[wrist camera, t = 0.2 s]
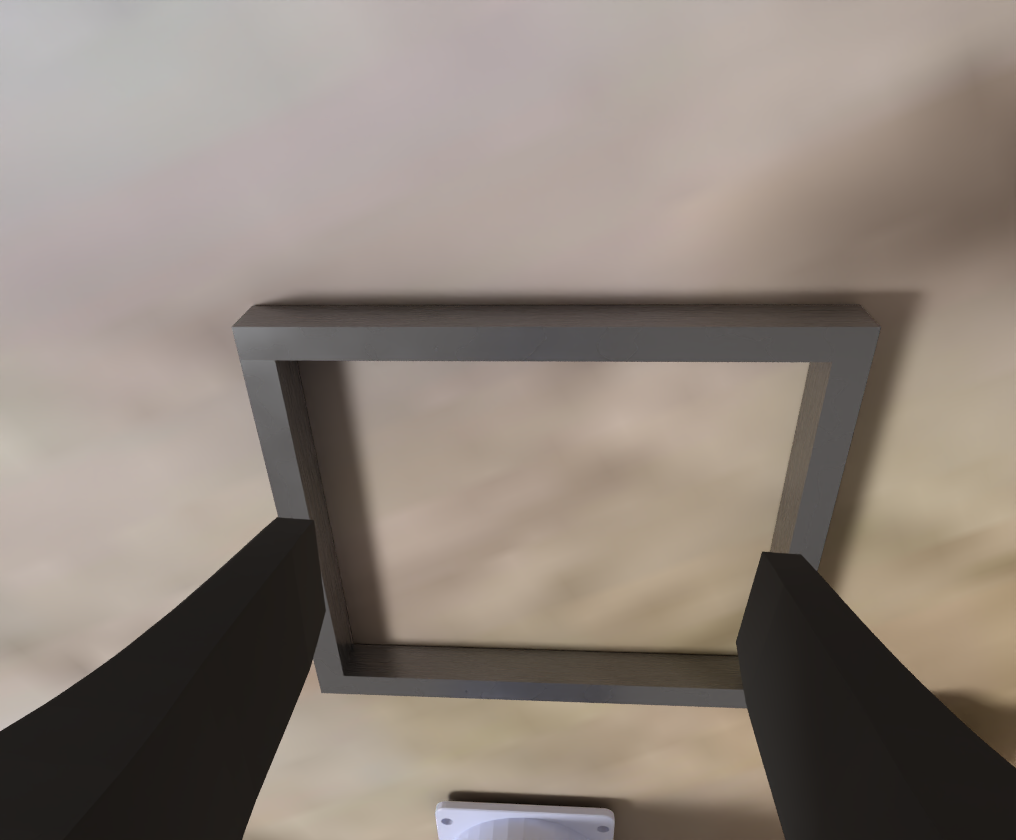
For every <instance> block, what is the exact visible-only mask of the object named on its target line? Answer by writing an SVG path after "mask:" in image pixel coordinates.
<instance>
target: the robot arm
mask: <svg viewBox="0 0 1016 840" xmlns="http://www.w3.org/2000/svg"><path fill="white" fill-rule="evenodd" d="M325 612H326V608H325V600H324V593H323V585H322V577H321V570H320V562H319V555H318V547H317V539H316V532H315V524H314V520H308V519H294V518H280V517H277V518H276V519H275V520H273V521H272V522H271V523H270V524H269V525H268V526H266V527H265V528H264V529H263V530H262V531H261V532H260V533H259V534H258V535H256V536H255V537H254V538H253V539H252V540H251V541H250V542H249V543H248V544H247V545H245V546H244V547H243V548H242V549H241V550H240V551H239V552H238V553H237V554H236V555H235V556H233V557H232V558H231V559H230V560H229V561H228V562H227V563H226V564H225V565H224V566H222V567H221V568H220V569H219V570H218V571H217V572H216V573H215V574H214V575H212V576H211V577H210V578H209V579H208V580H207V581H206V582H204V583H203V584H202V585H201V586H200V587H199V588H198V589H196V590H195V591H194V592H193V593H192V594H191V595H189V596H188V597H187V598H186V599H185V600H184V601H183V602H181V603H180V604H179V605H178V606H177V607H176V608H174V609H173V610H172V611H171V612H170V613H168V614H167V615H166V616H165V617H163V618H162V619H161V620H160V621H158V622H157V623H156V624H155V625H153V626H152V627H151V628H150V629H148V630H147V631H146V632H145V633H143V634H142V635H141V636H140V637H138V638H137V639H136V640H135V641H133V642H132V643H131V644H130V645H128V646H127V647H126V648H125V649H123V650H122V651H121V652H119V653H118V654H117V655H115V656H114V657H113V658H111V659H110V660H108V661H107V662H106V663H104V664H103V665H102V666H100V667H99V668H97V669H96V670H95V671H93V672H92V673H90V674H89V675H87V676H86V677H84V678H83V679H82V680H80V681H79V682H77V683H76V684H74V685H73V686H71V687H70V688H68V689H67V690H65V691H64V692H63V693H61V694H60V695H58V696H57V697H55V698H54V699H52V700H50V701H49V702H47V703H46V704H44V705H43V706H41V707H39V708H38V709H36V710H35V711H33V712H31V713H30V714H28V715H26V716H25V717H23V718H21V719H20V720H18V721H16V722H15V723H13V724H11V725H10V726H8V727H7V728H5V729H3V730H2V731H0V840H242V838H243V835H244V832H245V829H246V826H247V824H248V821H249V818H250V816H251V813H252V810H253V807H254V805H255V802H256V799H257V797H258V795H259V792H260V790H261V787H262V785H263V782H264V780H265V778H266V775H267V773H268V770H269V768H270V766H271V763H272V761H273V758H274V756H275V753H276V751H277V749H278V746H279V744H280V741H281V739H282V737H283V734H284V732H285V729H286V727H287V725H288V722H289V720H290V717H291V715H292V712H293V710H294V707H295V705H296V703H297V700H298V698H299V695H300V693H301V690H302V688H303V685H304V683H305V680H306V678H307V675H308V673H309V670H310V667H311V664H312V660H313V657H314V653H315V650H316V646H317V643H318V639H319V635H320V631H321V628H322V624H323V620H324V616H325ZM736 645H737V652H738V658H739V665H740V672H741V678H742V684H743V690H744V695H745V701H746V705H747V709H748V713H749V716H750V720H751V723H752V727H753V730H754V734H755V737H756V741H757V744H758V748H759V751H760V755H761V758H762V762H763V765H764V768H765V772H766V775H767V779H768V782H769V785H770V789H771V792H772V795H773V799H774V802H775V806H776V809H777V813H778V816H779V819H780V823H781V826H782V830H783V833H784V836H785V840H1016V768H1015V767H1014V766H1012V765H1011V764H1010V763H1009V762H1008V761H1006V760H1005V759H1004V758H1003V757H1002V756H1001V755H999V754H998V753H997V752H996V751H995V750H993V749H992V748H991V747H990V746H989V745H988V744H986V743H985V742H984V741H983V740H982V739H981V738H980V737H978V736H977V735H976V734H975V733H974V732H973V731H972V730H971V729H969V728H968V727H967V726H966V725H965V724H964V723H963V722H962V721H961V720H960V719H958V718H957V717H956V716H955V715H954V714H953V713H952V712H951V711H950V710H949V709H948V708H947V707H946V706H945V705H944V704H943V703H942V702H941V701H940V700H939V699H937V698H936V697H935V696H934V695H933V694H932V693H931V692H930V691H929V690H928V689H927V688H926V687H925V686H924V685H923V684H922V683H921V682H920V681H919V680H918V679H917V678H916V677H915V676H914V675H913V674H912V673H911V672H910V671H909V670H908V669H907V668H906V667H905V666H904V665H903V664H902V663H901V662H900V661H899V660H898V659H897V658H896V657H895V656H894V655H893V654H892V653H891V652H890V651H889V650H888V649H887V648H886V647H885V645H884V644H883V643H882V642H881V641H880V640H879V639H878V638H877V637H876V636H875V635H874V634H873V633H872V632H871V631H870V629H869V628H868V627H867V626H866V625H865V624H864V623H863V622H862V621H861V620H860V619H859V618H858V616H857V615H856V614H855V613H854V612H853V611H852V610H851V609H850V608H849V607H848V605H847V604H846V603H845V602H844V601H843V600H842V599H841V598H840V597H839V595H838V594H837V593H836V592H835V591H834V590H833V589H832V588H831V587H830V585H829V584H828V583H827V582H826V581H825V580H824V579H823V578H822V576H821V575H820V574H819V573H818V572H817V571H816V570H815V569H814V568H813V567H812V565H811V564H810V563H809V562H808V561H807V560H806V559H805V558H804V557H803V556H802V555H801V554H789V553H775V552H762V554H761V558H760V561H759V565H758V568H757V571H756V575H755V578H754V582H753V585H752V589H751V592H750V596H749V599H748V602H747V606H746V609H745V613H744V616H743V620H742V623H741V627H740V630H739V633H738V637H737V640H736ZM435 815H436V822H437V830H438V837H439V840H613V838H614V826H615V817H614V813H613V812H612V811H611V810H609V809H606V808H590V807H568V806H547V805H525V804H503V803H482V802H460V801H442V802H439V803H438V804H437V806H436V812H435Z"/></svg>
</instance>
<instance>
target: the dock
mask: <svg viewBox="0 0 1016 840" xmlns="http://www.w3.org/2000/svg"><path fill="white" fill-rule="evenodd" d="M880 329H881V326H880V325H879V324H878V323H877V322H876V321H875V320H874V319H873V318H872V317H871V316H870V315H869V314H868V313H867V312H866V311H865V309H864V308H863V307H862V306H861V305H480V306H252V307H251V308H250V309H249V310H248V311H247V312H246V313H245V314H244V315H243V316H242V317H241V318H240V319H239V320H238V321H237V322H236V323H235V324H234V325H233V326H232V330H233V334H234V338H235V342H236V347H237V351H238V355H239V359H240V363H241V367H242V371H243V375H244V379H245V383H246V387H247V391H248V395H249V399H250V404H251V408H252V412H253V416H254V420H255V424H256V428H257V432H258V436H259V440H260V444H261V448H262V452H263V456H264V460H265V465H266V469H267V473H268V477H269V481H270V485H271V489H272V493H273V497H274V501H275V505H276V509H277V513H278V517H280V518H294V519H308V520H314V524H315V532H316V539H317V547H318V555H319V562H320V570H321V577H322V585H323V593H324V600H325V608H326V612H325V616H324V620H323V624H322V628H321V631H320V635H319V639H318V643H317V646H316V650H315V653H314V657H313V660H314V664H315V668H316V672H317V676H318V680H319V684H320V688H321V692H322V693H338V694H366V695H394V696H421V697H449V698H477V699H504V700H532V701H560V702H587V703H615V704H643V705H670V706H698V707H726V708H747V705H746V701H745V695H744V690H743V684H742V678H741V672H740V665H739V658H738V656H712V655H680V654H648V653H616V652H584V651H552V650H520V649H488V648H456V647H424V646H392V645H360V644H354V643H353V638H352V633H351V628H350V623H349V618H348V613H347V608H346V603H345V598H344V593H343V588H342V583H341V578H340V573H339V568H338V563H337V558H336V553H335V548H334V543H333V538H332V533H331V528H330V523H329V518H328V513H327V508H326V503H325V498H324V493H323V488H322V483H321V478H320V473H319V468H318V463H317V458H316V453H315V448H314V443H313V438H312V433H311V428H310V423H309V418H308V413H307V408H306V403H305V398H304V393H303V388H302V383H301V378H300V373H299V368H298V363H297V360H311V361H613V362H810V365H809V370H808V374H807V379H806V384H805V389H804V393H803V398H802V403H801V408H800V412H799V417H798V422H797V427H796V431H795V436H794V441H793V446H792V450H791V455H790V460H789V465H788V469H787V474H786V479H785V483H784V488H783V493H782V498H781V502H780V507H779V512H778V517H777V521H776V526H775V531H774V536H773V540H772V545H771V550H770V552H775V553H789V554H801V555H802V556H803V557H804V558H805V559H806V560H807V561H808V562H809V563H810V564H811V565H812V567H813V568H814V569H815V570H816V571H818V567H819V563H820V559H821V555H822V552H823V548H824V544H825V540H826V536H827V532H828V529H829V525H830V521H831V517H832V513H833V509H834V506H835V502H836V498H837V494H838V490H839V486H840V483H841V479H842V475H843V471H844V467H845V463H846V460H847V456H848V452H849V448H850V444H851V440H852V437H853V433H854V429H855V425H856V421H857V417H858V413H859V410H860V406H861V402H862V398H863V394H864V390H865V387H866V383H867V379H868V375H869V371H870V367H871V364H872V360H873V356H874V352H875V348H876V344H877V341H878V337H879V333H880Z"/></svg>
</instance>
